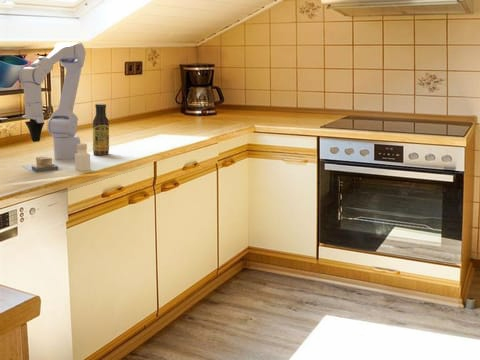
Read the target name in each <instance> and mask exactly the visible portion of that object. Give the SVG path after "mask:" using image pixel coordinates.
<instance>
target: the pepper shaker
mask: <svg viewBox="0 0 480 360" xmlns="http://www.w3.org/2000/svg"><path fill="white" fill-rule="evenodd" d="M87 145H88V143H80V144H77V150H78V153H77V154H75V158H74V169H75V171H79V172H84V171H90V170H91V168H92V167H91V154H90V153H88V149H87V148H88V147H87Z"/></svg>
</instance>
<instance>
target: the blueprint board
mask: <svg viewBox="0 0 480 360" xmlns="http://www.w3.org/2000/svg"><path fill="white" fill-rule="evenodd" d="M21 167H22V168H24V169H26V170H28V171H29V172H30V173H32V174H41V173H49V172H56V171H57V172H58V171H59V172H60V171H63V169H62V168H60V167H59V166H58V165H56V164H54V163H52V166H51V167H42V168H37V164H26V165H21Z"/></svg>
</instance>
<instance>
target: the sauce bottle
mask: <svg viewBox="0 0 480 360" xmlns="http://www.w3.org/2000/svg"><path fill="white" fill-rule="evenodd" d="M94 107H95V117H94V119H93V120H92V151H93V155H95V156H107V155H108V154H109V153H110V151H109V150H110V125H109V123H110V122H109V119H108V117H107V113H106V112H107V104H106V103H95V106H94Z"/></svg>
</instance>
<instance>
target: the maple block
mask: <svg viewBox="0 0 480 360" xmlns="http://www.w3.org/2000/svg"><path fill="white" fill-rule="evenodd" d="M35 160H36V161H35V162H36V164H37V168H42V167H51V166H52V164H53V158H52V157H50V156H48V155H46V156H37V157H36V158H35Z"/></svg>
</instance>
